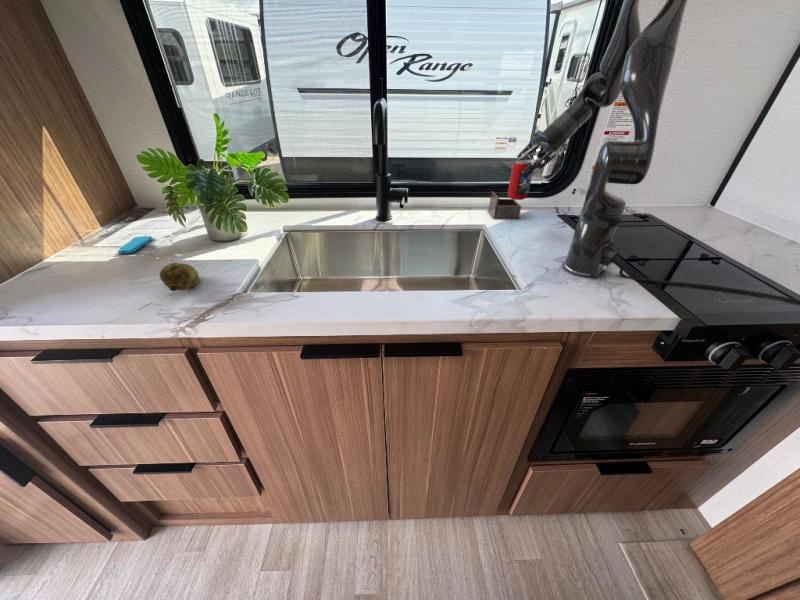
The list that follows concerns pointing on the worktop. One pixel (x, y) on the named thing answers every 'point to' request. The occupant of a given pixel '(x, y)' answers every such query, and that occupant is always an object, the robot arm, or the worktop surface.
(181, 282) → the potato
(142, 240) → the sponge
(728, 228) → the worktop surface
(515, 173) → the beverage can
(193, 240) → the worktop surface
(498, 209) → the box
